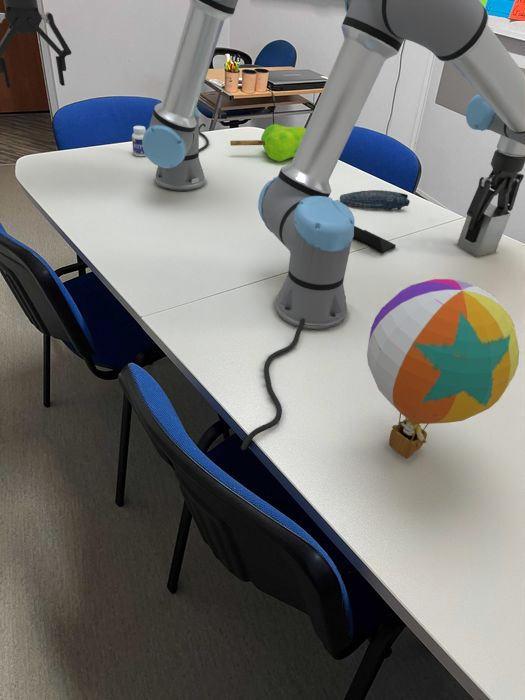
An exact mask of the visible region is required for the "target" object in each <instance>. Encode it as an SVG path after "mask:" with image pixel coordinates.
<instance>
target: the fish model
mask: <svg viewBox="0 0 525 700" xmlns="http://www.w3.org/2000/svg"><path fill="white" fill-rule="evenodd" d="M339 201H340V202H341V203H343V204H345V205H346V206H348V205H349V206H351V207H357V208H362V209H371V210H372V209H374V210H384V211H385V210H386V211H391V210H394V209H397V210H402V208H404V207H408V206H409V205H410V202H411V201H410V200H409V195H408V194H406V193H403V192H402V193H401V192H399V191H392V190H382V189H380V190H379V189H377V190H376V189H368V190H360V191H352V192H348V193H344V194H341V195H340V196H339Z"/></svg>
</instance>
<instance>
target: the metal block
mask: <svg viewBox="0 0 525 700" xmlns="http://www.w3.org/2000/svg"><path fill="white" fill-rule="evenodd" d="M508 212H509V211H508ZM508 212H506V211H504V210H502V209H500V208H498V207H497V206H496V205H494V204H492V203H490V204H489V206H488V207H487V209H486V210H485V212H484V214H483V215H482V217H481V218H480V219H482V223H481V225H480V228H479V231H478V234H477V236H476V239H475V242H474V243H472V242H470V241H468V240H466V239H465V236H466V234H467V231H468V226H469V224H470V220H471V217H470V216H469V215H467V214H466V216H465V220H464V223H463V226H462V229H461V233H460V234H459V238H458V240H457V242H456V243H457V244H456V246H457V247H459V248H461V249H462V250H464V251H466V252H468V253H469V254H471V255H472V256H474V257H475V258H479V257H484V256H487V255H492V254H495V253H496V252H497V249H498V247H499V245H500V242H501V239H502V237H503V235H504V232H505V229H506V227H507V224H508V221H509V220H510V217H511V213H508ZM478 214H479V213H478Z"/></svg>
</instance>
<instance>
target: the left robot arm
mask: <svg viewBox="0 0 525 700" xmlns="http://www.w3.org/2000/svg"><path fill="white" fill-rule="evenodd" d="M238 1H239V0H189V3H190V4H189V7H188V11H187V14H186V17H185V20H184V24H183V28H182V32H181V35H180V38H179V42H178V46H177V49H176V53H175V56H174V60H173V64H172V66H171V71H170V73H169V77H168V81H167V84H166V88H165V91H164V95H163V99H162V101H161V102H159V103H157V104H155V106H154V107H153V112H152V115H151V118H150V121H149V125H148V128H147V129H145V130H146V131H145V133H144V136H143V140H142V146H143V150H144V153H145V154H146V156H145V157H146V159H148V160H149V161H150V162H151V163H152V164H154V165H155V166H157V168H156V171H155V183H156V185H158V187H161V188H162V189H166V190H169V191H176V192H177V191H178V192H185V191H186V192H188V191H193V190H198V189H200V188H201V187H203V186H204V185H205V179H206V178H205V177H206V176H205V173H204V171H203V167H202V163H201V161H200V152H201V151H203V150H205V149H206V148H207V147H208V146H209V143H210V142H209V138H208V136H206V135H205V134H204V133H203V132H201V131H200V130H201V128H202V127H204V128H205V127H207V125H206V123H201V124H199V123H200V115H199V108H198V104H199V103H198V102H199V100H200V96H201V93H202V90H203V88H204V85H205V81H206V78H207V76H208V72H209V70H210V65H211V63H212V60H213V57H214V54H215V51H216V47H217V44H218V41H219V38H220V35H221V33H222V29H223V26H224V23H225V20H227V19H228V18H230V17H233V16H234V14H235V11H236V7H237V6H238V5H237V4H238ZM3 4H4V12H0V24H2V23H3V22H4V19H5V20H6V22H8V24H9V26H8V28H7V29H6V32H5V34H4V35H3V37H2V38H1V41H0V74H3V75H2V76H3V78H4V83H5V86H6V88H7V89H8V88H9V89H11V83H10V78H9V73H8V69H7V65H6V59H5V58H4V56H3V55H4V53H5V51H6V50H7V48H8V46H9V45H10V43H11V42H12V39H13V37H14V36H15V35H16V34H17V33H18V34H20V35H25V34H29V35H34V34H36V33H37V34H38V35H39V36H40V37H41V38H42V39H43V40H44V42H46V44H48V45H49V47H50V48H51V49H52V50H54V52H55V53H56V54H57V55H56V56H55V61H56V62H55V63H56V67H57V75H58V81H59V84H60V85H61V86H62V87H64V86H65V78H64V72H67V64H66V57H68V56H71V55H72V50H71V49H70V47H69V45H68V44H67V41H66V40H65V38H64V37H63V35H62V34H61V32H60V30H59V28H58V27H57V25H56V23H55V20H54V15H53V14H52V13H51V12H50V11H46V12H45V13H41V12H40V11H39V6H38V0H3ZM42 20H43V21H44V22H45V23H46V24H47V25H48V26H49V27H50V29H51V31H52V32H53V35H54V36H55V38H56V39H57V41H58V43H59V45H60V46H61V48H62V50H61V49H60V48H59V46H58V45H57V44H56V42H54V40H52V39H51V38H50V37H49V36H48V35H47V33H46V32H45V31H44V30H43V29H42V28H41V27H40V25H41V24H42ZM200 135H201V136H202V137H203V138H204V139H205V141H206V142H205V144H204V146H202V147H200V145H199V144H200V141H199V140H200V139H199V138H200Z"/></svg>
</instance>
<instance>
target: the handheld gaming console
mask: <svg viewBox="0 0 525 700" xmlns="http://www.w3.org/2000/svg"><path fill="white" fill-rule="evenodd" d="M353 240H354V241H355V242H357V243H359V244H362V245H364V246H366V247H368V248H369V249H371V250H373V251H374V252H377V253H379V254H381V255H383V254H385V253H387V252H389V251H391V250H394V249H396V246H397V245H396V244H395V243H393V242H391V241H389V240H387V239H385V238H383V237H381V236H378V235H376V234H374V233H372V232H370V231H368V230H367V229H362V228H360V227H358V226H356V225H354V237H353ZM353 240H352V241H353Z"/></svg>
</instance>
